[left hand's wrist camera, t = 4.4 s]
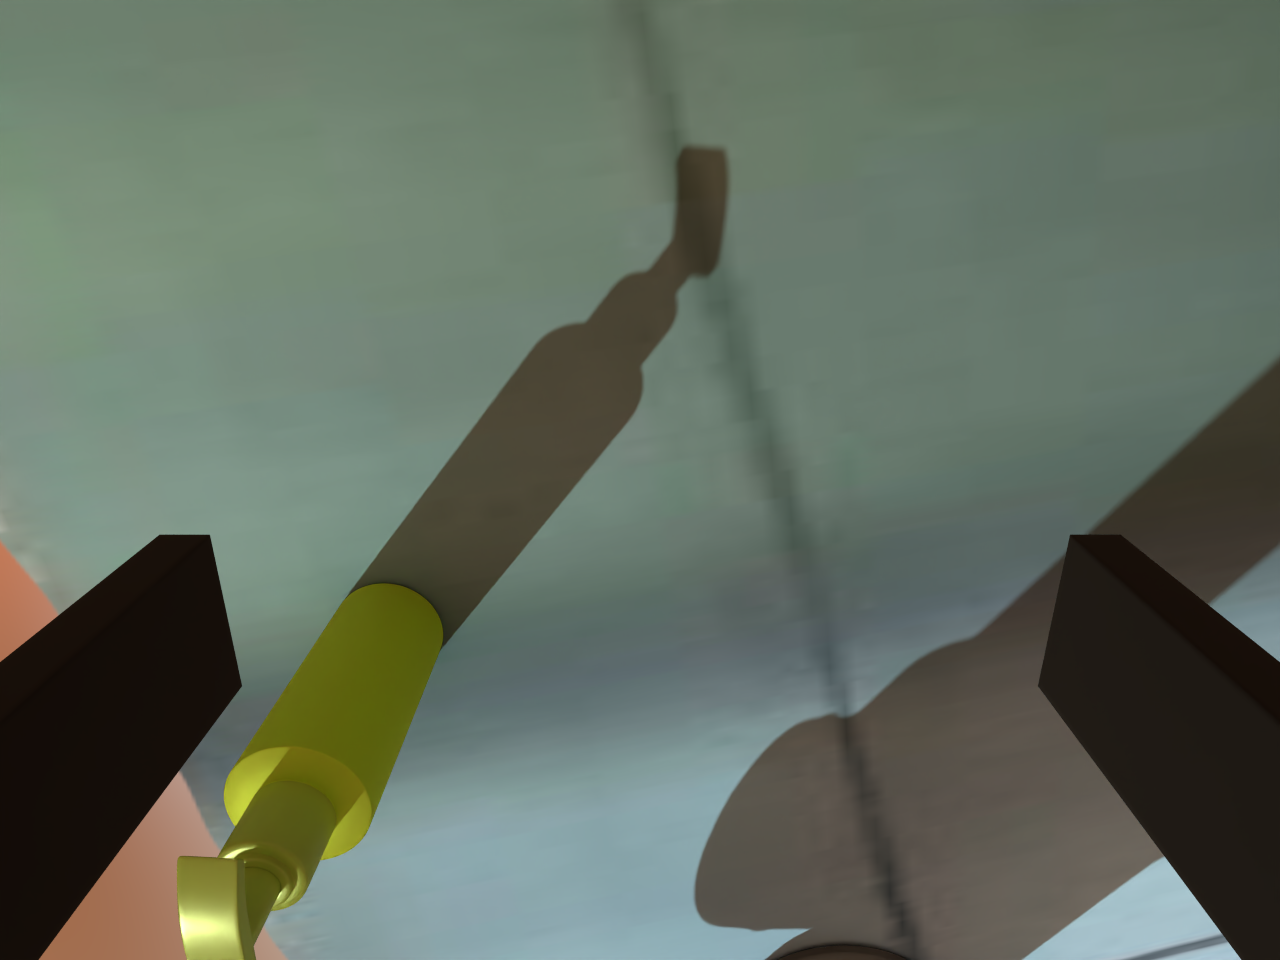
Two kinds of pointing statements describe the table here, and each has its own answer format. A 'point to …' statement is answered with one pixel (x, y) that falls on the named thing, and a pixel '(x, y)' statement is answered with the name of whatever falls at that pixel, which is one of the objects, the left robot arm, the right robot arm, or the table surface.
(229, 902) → the soap dispenser
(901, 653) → the table surface
